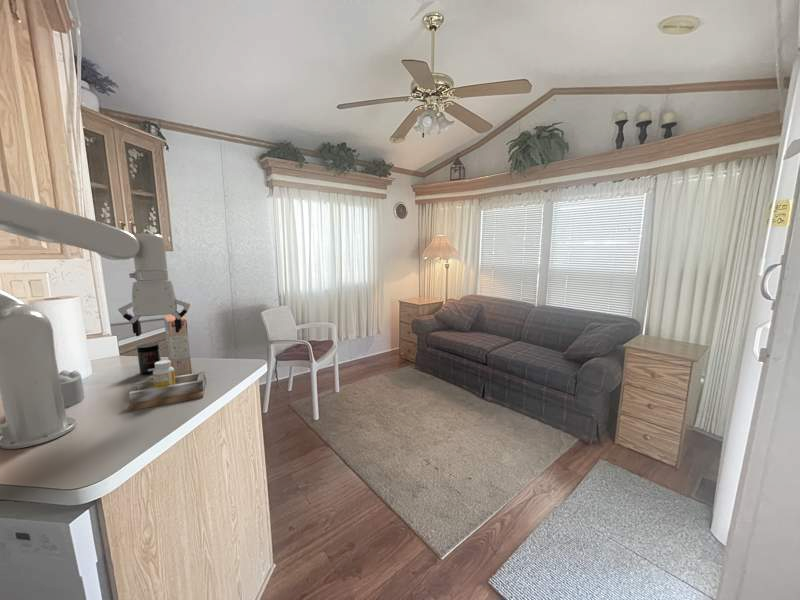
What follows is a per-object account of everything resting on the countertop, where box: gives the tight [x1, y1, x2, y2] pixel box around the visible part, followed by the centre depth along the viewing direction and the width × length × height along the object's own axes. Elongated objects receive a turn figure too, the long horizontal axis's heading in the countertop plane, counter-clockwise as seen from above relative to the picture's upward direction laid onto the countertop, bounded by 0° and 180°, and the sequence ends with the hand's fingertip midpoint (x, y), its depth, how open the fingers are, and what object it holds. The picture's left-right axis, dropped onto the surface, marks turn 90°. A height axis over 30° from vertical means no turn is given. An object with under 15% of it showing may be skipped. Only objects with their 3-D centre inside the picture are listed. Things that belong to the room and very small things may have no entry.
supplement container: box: [135, 342, 162, 376], centre depth 121 cm, size 7×7×10 cm
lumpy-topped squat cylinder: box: [58, 369, 85, 408], centre depth 98 cm, size 10×13×9 cm
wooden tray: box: [127, 371, 207, 412], centre depth 101 cm, size 18×14×4 cm
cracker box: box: [163, 314, 193, 376], centre depth 120 cm, size 14×6×21 cm, turn 40°
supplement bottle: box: [152, 359, 176, 388], centre depth 100 cm, size 5×5×10 cm
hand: (158, 333), depth 98 cm, fingers open, 9 cm apart
